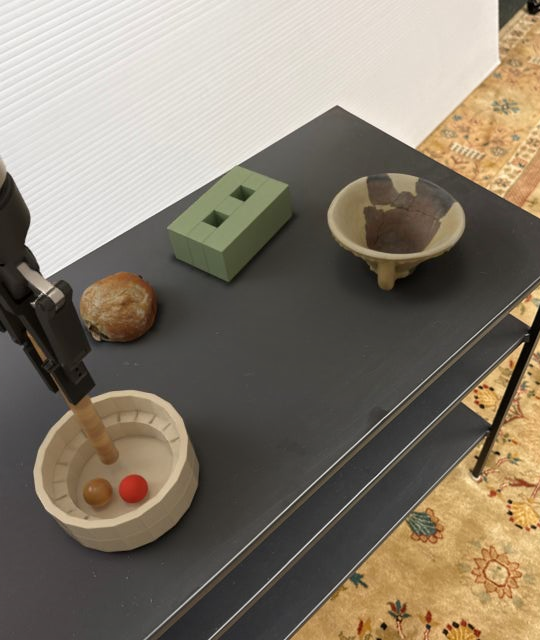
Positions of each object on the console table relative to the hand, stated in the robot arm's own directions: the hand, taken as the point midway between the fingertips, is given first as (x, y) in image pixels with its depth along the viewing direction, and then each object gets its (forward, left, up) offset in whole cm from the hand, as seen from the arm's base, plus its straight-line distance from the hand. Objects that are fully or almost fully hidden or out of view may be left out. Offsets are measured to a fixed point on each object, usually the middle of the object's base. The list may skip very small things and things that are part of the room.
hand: (72, 387), depth 61 cm
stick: (0, -1, -13) cm, 13 cm away
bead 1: (+2, -4, -14) cm, 14 cm away
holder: (-11, +37, -16) cm, 42 cm away
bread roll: (-15, +17, -16) cm, 28 cm away
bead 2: (+5, -2, -14) cm, 14 cm away
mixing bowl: (+3, -1, -16) cm, 16 cm away
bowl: (+12, +44, -16) cm, 48 cm away
